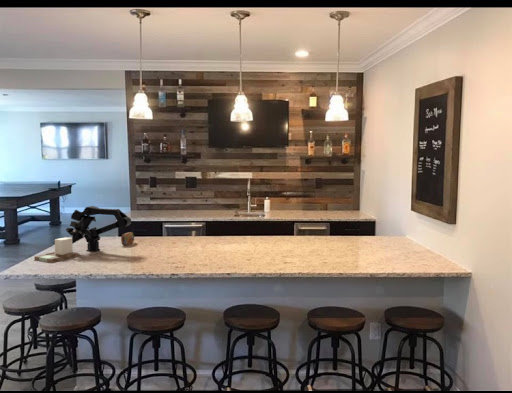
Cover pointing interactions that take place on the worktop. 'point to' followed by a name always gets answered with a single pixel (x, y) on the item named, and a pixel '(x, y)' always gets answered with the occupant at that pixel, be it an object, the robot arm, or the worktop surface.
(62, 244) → the cream block
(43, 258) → the pad
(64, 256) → the trap board
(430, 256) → the worktop surface
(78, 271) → the worktop surface
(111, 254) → the worktop surface
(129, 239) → the tin
